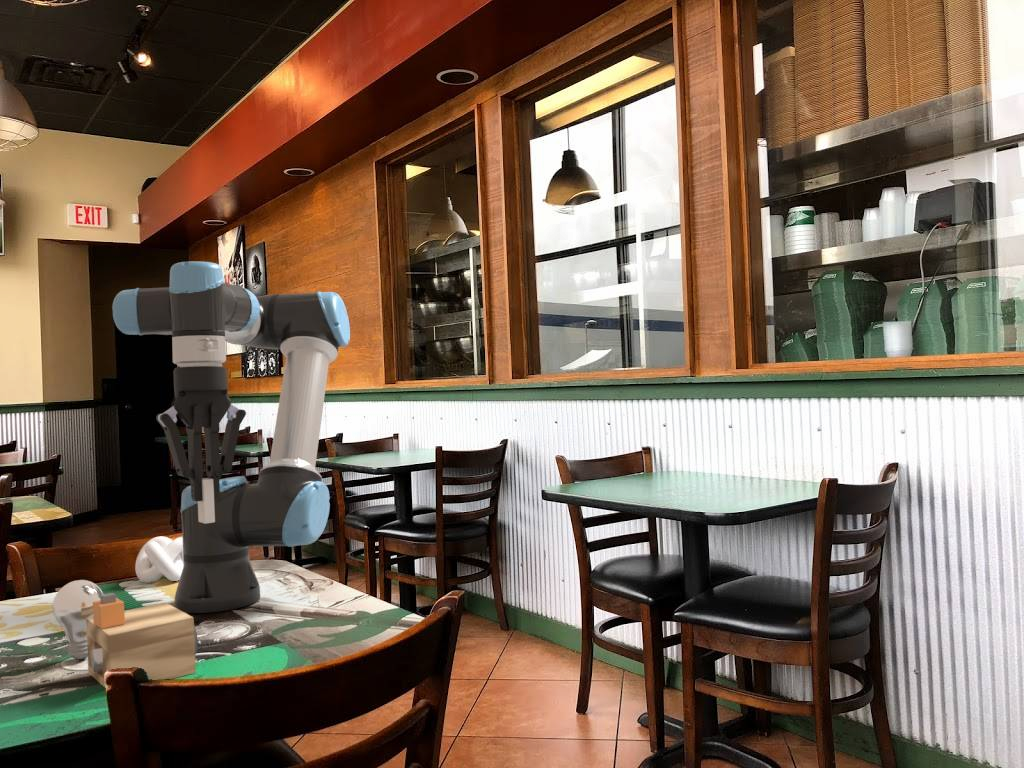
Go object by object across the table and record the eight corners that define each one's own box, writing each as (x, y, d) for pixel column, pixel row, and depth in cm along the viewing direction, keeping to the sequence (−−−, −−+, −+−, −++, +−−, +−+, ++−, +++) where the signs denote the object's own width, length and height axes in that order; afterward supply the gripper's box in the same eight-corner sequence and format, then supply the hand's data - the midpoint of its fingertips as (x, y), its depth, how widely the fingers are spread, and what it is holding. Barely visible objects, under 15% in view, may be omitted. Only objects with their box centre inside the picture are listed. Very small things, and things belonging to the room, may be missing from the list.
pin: (89, 675, 113) (88, 638, 113) (185, 652, 122) (184, 617, 122) (99, 684, 109) (98, 646, 109) (198, 660, 118) (196, 624, 118)
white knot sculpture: (120, 587, 169) (119, 544, 169) (155, 573, 181) (153, 533, 181) (170, 587, 167) (168, 543, 167) (202, 573, 179) (200, 533, 179)
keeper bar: (93, 623, 113) (92, 594, 113) (116, 618, 115) (115, 590, 115) (101, 628, 110) (100, 599, 110) (124, 623, 112) (123, 595, 112)
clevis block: (88, 672, 116) (86, 618, 116) (167, 653, 124) (165, 602, 124) (111, 694, 107) (109, 635, 107) (195, 672, 114) (193, 617, 114)
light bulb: (67, 654, 125) (64, 576, 125) (114, 651, 126) (111, 573, 126) (45, 669, 118) (42, 587, 118) (95, 666, 119) (92, 584, 119)
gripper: (163, 365, 115) (170, 531, 115) (252, 363, 123) (258, 518, 124) (146, 367, 121) (153, 525, 121) (232, 365, 129) (239, 513, 129)
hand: (206, 521), depth 122 cm, fingers closed
